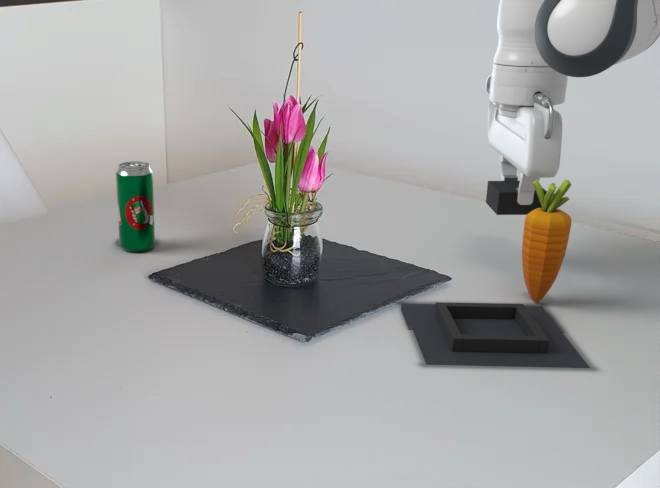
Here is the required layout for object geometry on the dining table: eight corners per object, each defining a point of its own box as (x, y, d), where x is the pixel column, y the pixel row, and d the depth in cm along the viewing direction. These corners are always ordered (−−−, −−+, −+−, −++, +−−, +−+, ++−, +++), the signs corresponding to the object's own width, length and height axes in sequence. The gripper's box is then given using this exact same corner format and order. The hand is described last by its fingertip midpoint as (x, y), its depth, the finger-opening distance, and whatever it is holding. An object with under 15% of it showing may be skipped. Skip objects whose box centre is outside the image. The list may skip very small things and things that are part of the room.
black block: (531, 202, 112) (534, 180, 111) (544, 214, 106) (547, 191, 105) (485, 202, 112) (487, 180, 111) (496, 215, 107) (499, 192, 106)
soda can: (129, 240, 122) (125, 159, 118) (160, 244, 120) (158, 162, 116) (113, 251, 118) (109, 167, 113) (146, 255, 116) (143, 170, 112)
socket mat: (540, 312, 97) (543, 293, 96) (590, 376, 82) (594, 354, 81) (400, 309, 98) (402, 291, 97) (424, 372, 83) (426, 351, 82)
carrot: (504, 299, 100) (521, 176, 95) (534, 292, 102) (552, 171, 97) (536, 313, 96) (556, 186, 90) (567, 305, 98) (588, 180, 93)
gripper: (583, 99, 94) (566, 218, 99) (530, 76, 113) (519, 177, 118) (525, 100, 94) (512, 218, 99) (483, 77, 113) (473, 177, 118)
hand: (515, 196), depth 109 cm, fingers closed on black block, 6 cm apart
